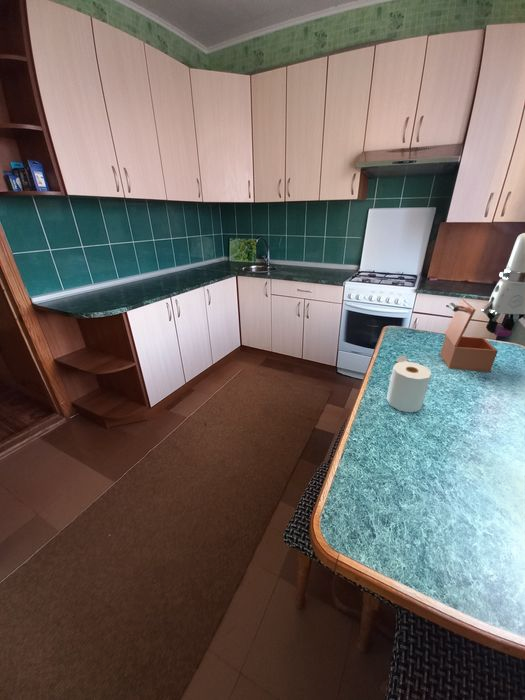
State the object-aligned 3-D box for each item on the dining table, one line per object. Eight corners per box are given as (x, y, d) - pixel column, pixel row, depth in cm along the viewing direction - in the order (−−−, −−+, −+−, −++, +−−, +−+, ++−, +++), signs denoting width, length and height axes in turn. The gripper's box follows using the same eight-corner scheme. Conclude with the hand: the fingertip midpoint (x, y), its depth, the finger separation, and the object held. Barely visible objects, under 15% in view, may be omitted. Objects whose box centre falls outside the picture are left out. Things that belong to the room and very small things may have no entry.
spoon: (409, 360, 116) (409, 356, 115) (396, 383, 101) (397, 379, 100) (398, 357, 118) (398, 353, 117) (384, 380, 103) (385, 376, 102)
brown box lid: (463, 299, 109) (448, 297, 109) (475, 309, 99) (459, 306, 99) (446, 334, 116) (432, 331, 116) (456, 346, 106) (441, 343, 106)
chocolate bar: (485, 327, 100) (487, 323, 99) (498, 328, 99) (500, 324, 99) (497, 336, 94) (498, 331, 93) (510, 336, 93) (512, 332, 92)
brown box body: (477, 357, 117) (484, 337, 113) (489, 372, 107) (498, 350, 103) (439, 354, 120) (445, 334, 116) (448, 368, 110) (455, 347, 106)
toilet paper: (387, 390, 98) (394, 358, 92) (421, 397, 94) (430, 365, 88) (385, 407, 90) (392, 374, 84) (422, 416, 86) (432, 381, 80)
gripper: (495, 278, 86) (476, 335, 94) (559, 280, 84) (533, 337, 92) (482, 273, 93) (465, 326, 101) (541, 274, 90) (518, 328, 99)
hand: (498, 331), depth 96 cm, fingers closed on chocolate bar, 4 cm apart
